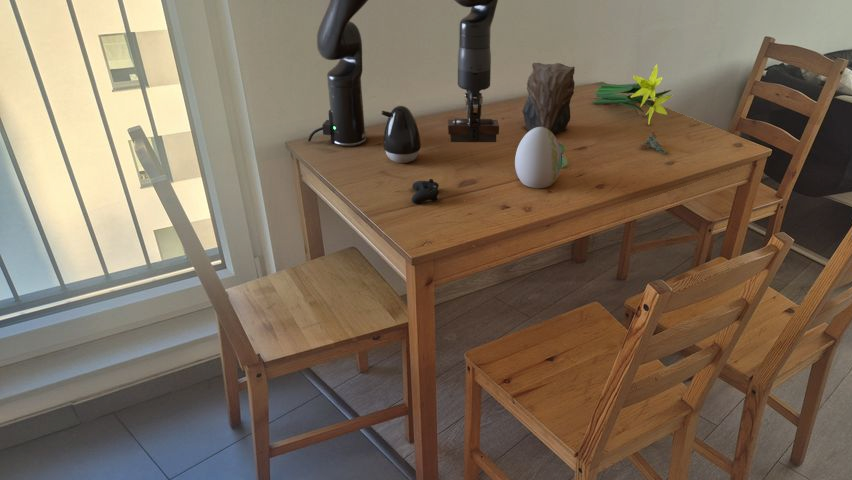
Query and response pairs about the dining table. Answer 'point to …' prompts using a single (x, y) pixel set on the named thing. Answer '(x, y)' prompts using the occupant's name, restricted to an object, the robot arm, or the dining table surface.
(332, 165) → the dining table surface
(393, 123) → the pump dispenser
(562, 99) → the owl
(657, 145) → the dragon figurine
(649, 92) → the daffodil flowers
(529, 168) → the decorative egg
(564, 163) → the seedling
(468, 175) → the dining table surface
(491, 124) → the scrub brush
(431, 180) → the game controller
